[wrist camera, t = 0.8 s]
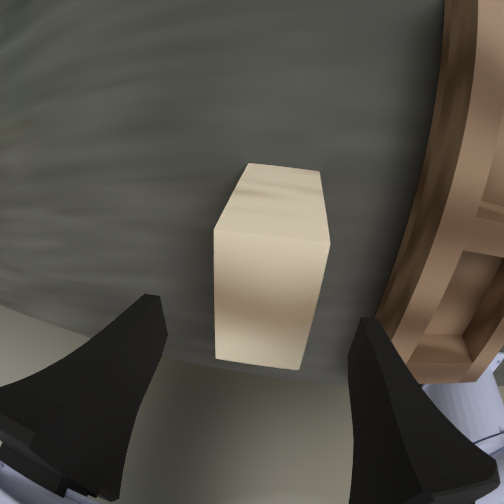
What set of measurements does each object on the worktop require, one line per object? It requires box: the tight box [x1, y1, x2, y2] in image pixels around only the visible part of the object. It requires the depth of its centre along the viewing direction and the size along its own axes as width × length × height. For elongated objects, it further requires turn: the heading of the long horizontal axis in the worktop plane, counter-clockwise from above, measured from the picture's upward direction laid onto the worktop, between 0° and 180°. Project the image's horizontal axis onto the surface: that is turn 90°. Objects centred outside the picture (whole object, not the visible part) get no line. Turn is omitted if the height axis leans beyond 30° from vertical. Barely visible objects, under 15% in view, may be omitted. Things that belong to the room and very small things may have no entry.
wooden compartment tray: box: [374, 0, 504, 384], centre depth 15 cm, size 25×10×4 cm, turn 176°
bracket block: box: [214, 163, 330, 370], centre depth 16 cm, size 7×4×8 cm, turn 176°
